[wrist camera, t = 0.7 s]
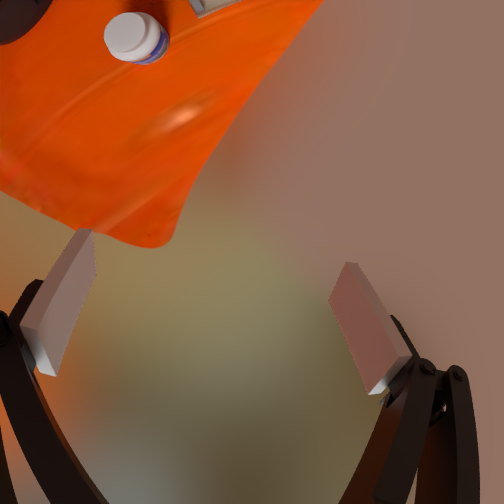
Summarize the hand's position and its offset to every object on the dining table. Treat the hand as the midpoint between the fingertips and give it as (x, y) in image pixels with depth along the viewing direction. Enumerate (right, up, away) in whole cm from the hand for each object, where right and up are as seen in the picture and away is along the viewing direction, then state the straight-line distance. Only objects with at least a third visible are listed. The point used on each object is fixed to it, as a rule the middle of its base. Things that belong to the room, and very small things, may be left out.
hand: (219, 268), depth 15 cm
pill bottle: (-10, +25, +13) cm, 30 cm away
